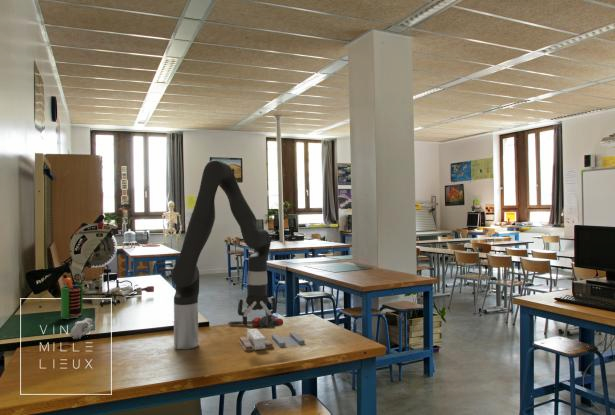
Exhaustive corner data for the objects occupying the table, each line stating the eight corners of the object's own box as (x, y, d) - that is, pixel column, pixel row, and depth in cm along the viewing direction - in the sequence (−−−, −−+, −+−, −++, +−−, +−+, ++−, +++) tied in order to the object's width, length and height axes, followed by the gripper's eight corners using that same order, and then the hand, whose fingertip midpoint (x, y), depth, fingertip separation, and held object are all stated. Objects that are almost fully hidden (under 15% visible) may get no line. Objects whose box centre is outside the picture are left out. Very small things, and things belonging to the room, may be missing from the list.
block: (265, 348, 168) (264, 337, 168) (254, 349, 167) (254, 339, 167) (256, 338, 182) (256, 328, 182) (247, 339, 180) (247, 329, 180)
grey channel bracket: (305, 347, 175) (305, 340, 175) (278, 351, 171) (278, 343, 171) (296, 339, 186) (296, 332, 186) (270, 342, 183) (270, 334, 183)
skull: (62, 334, 187) (74, 310, 196) (73, 346, 193) (85, 321, 202) (78, 334, 186) (91, 309, 195) (89, 345, 192) (101, 321, 200)
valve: (288, 327, 214) (280, 330, 199) (236, 327, 219) (224, 331, 204) (288, 313, 214) (279, 316, 200) (236, 313, 220) (224, 316, 205)
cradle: (273, 352, 170) (273, 343, 170) (245, 355, 167) (245, 347, 167) (265, 342, 183) (265, 334, 183) (238, 345, 179) (238, 337, 179)
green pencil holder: (74, 320, 222) (74, 279, 222) (56, 320, 222) (56, 279, 222) (85, 315, 232) (84, 276, 232) (67, 315, 232) (67, 276, 232)
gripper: (273, 280, 176) (272, 321, 176) (236, 281, 171) (236, 324, 171) (278, 283, 169) (277, 326, 169) (240, 285, 164) (239, 329, 164)
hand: (256, 325), depth 170 cm, fingers open, 8 cm apart
